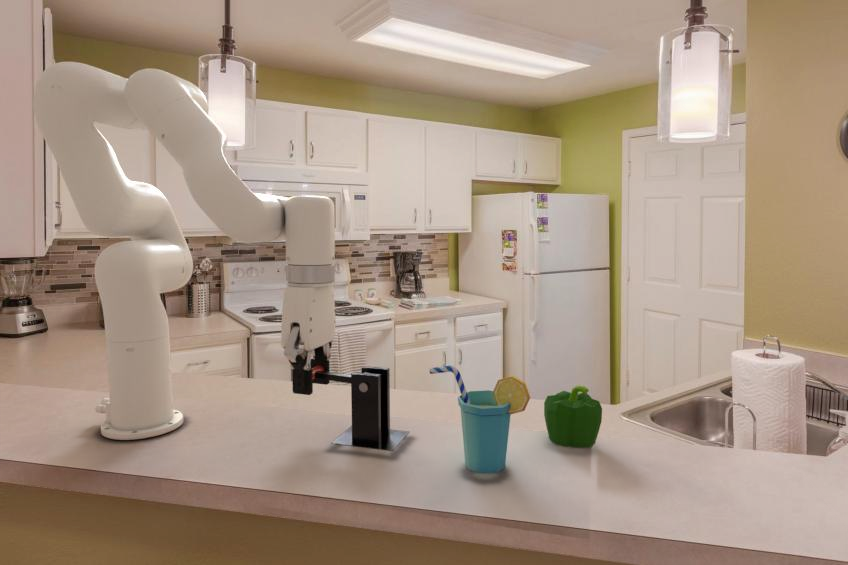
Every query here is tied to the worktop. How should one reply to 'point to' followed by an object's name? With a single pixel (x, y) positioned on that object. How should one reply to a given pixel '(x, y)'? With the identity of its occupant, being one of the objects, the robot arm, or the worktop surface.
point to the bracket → (371, 412)
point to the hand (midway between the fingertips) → (311, 387)
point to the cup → (487, 420)
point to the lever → (335, 375)
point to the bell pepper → (573, 418)
